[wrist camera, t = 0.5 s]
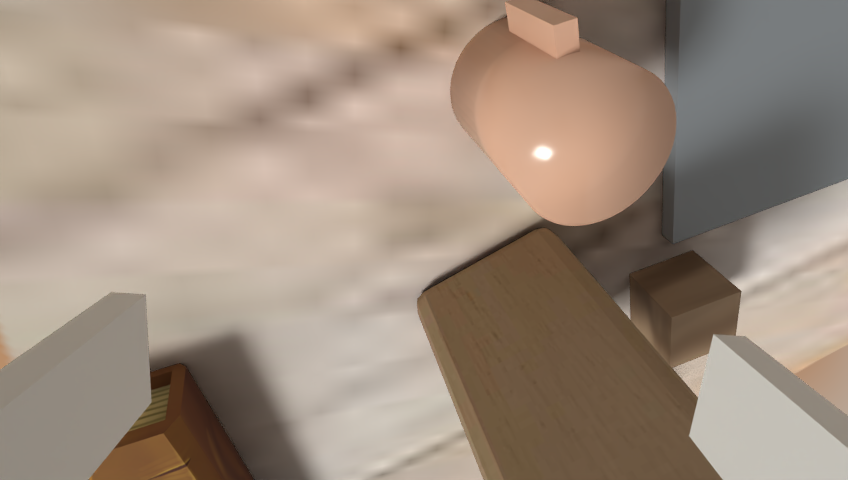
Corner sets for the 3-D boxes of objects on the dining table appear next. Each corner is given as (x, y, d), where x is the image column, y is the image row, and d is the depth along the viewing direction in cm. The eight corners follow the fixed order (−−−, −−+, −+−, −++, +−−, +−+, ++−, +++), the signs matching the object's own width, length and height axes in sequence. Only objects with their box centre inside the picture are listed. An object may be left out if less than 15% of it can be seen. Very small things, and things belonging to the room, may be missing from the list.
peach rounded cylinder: (577, 122, 33) (674, 194, 25) (464, 161, 32) (529, 247, 25) (565, -31, 28) (680, 4, 20) (431, 13, 27) (500, 64, 20)
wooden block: (466, 380, 42) (607, 702, 26) (407, 293, 36) (541, 639, 20) (585, 314, 41) (806, 599, 25) (545, 216, 36) (798, 503, 19)
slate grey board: (667, -46, 29) (681, -43, 28) (940, -135, 30) (964, -135, 29) (662, 234, 39) (672, 244, 38) (865, 159, 40) (880, 166, 39)
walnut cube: (628, 273, 40) (671, 317, 36) (691, 249, 41) (741, 291, 37) (630, 322, 43) (669, 368, 39) (688, 299, 44) (734, 343, 40)
